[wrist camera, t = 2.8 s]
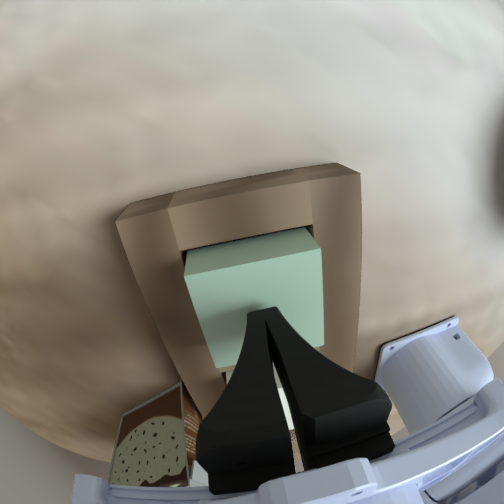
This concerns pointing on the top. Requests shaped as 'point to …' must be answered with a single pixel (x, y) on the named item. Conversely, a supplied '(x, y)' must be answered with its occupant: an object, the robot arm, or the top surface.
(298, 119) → the top surface
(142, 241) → the key console
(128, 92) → the top surface
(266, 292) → the sage key
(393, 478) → the robot arm
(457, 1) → the top surface
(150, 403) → the food container
